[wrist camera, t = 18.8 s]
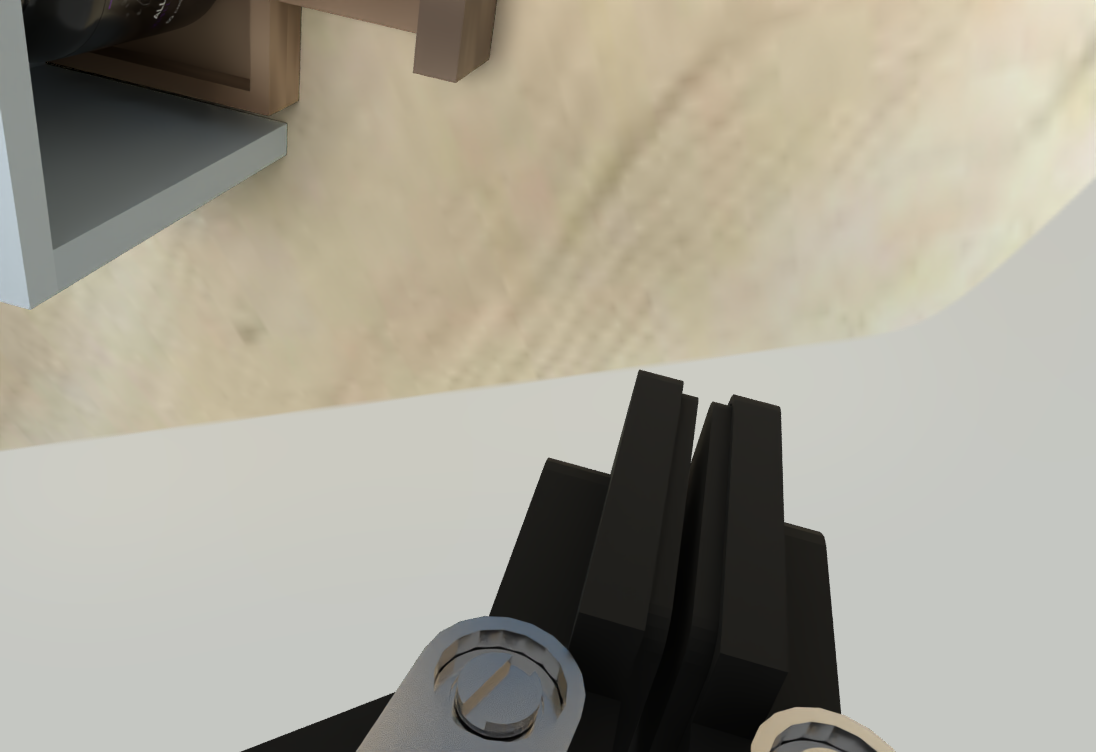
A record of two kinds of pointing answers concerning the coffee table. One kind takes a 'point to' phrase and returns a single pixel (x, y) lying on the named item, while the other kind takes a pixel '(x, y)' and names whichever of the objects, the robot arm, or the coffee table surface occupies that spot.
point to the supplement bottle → (100, 23)
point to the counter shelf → (103, 165)
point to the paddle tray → (286, 48)
